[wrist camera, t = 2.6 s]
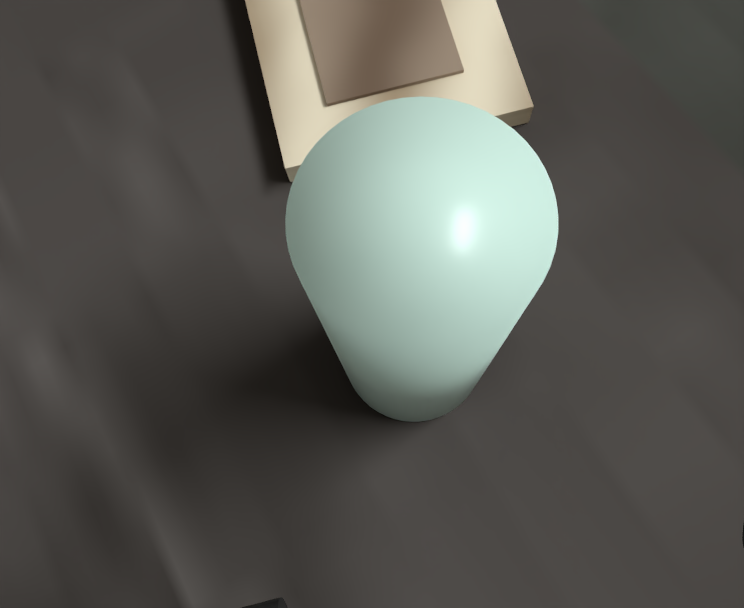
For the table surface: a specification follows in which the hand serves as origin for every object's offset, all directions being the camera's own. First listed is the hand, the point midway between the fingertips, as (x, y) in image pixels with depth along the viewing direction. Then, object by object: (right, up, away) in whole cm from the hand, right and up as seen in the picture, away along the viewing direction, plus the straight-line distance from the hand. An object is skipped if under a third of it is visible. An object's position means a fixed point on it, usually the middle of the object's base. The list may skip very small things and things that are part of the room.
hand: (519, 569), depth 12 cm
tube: (-1, +3, +14) cm, 14 cm away
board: (-2, +15, +18) cm, 23 cm away
